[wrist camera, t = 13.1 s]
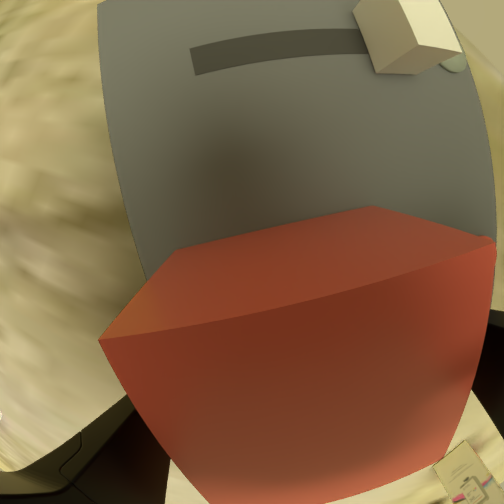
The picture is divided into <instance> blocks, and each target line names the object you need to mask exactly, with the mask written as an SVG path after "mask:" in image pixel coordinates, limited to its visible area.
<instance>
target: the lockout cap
mask: <svg viewBox="0 0 504 504" xmlns="http://www.w3.org/2000/svg"><path fill="white" fill-rule="evenodd" d="M494 265H495V242H493V241H491V240H488V239H485V238H482V237H479V236H476V235H473V234H470V233H467V232H464V231H461V230H458V229H455V228H452V227H448V226H445V225H442V224H439V223H435V222H432V221H428V220H425V219H422V218H418V217H414V216H411V215H407V214H404V213H400V212H396V211H392V210H389V209H385V208H381V207H377V206H373V205H372V206H367V207H363V208H358V209H353V210H348V211H344V212H339V213H334V214H330V215H325V216H321V217H316V218H311V219H307V220H302V221H298V222H293V223H289V224H284V225H280V226H276V227H271V228H267V229H262V230H258V231H254V232H249V233H245V234H241V235H236V236H232V237H228V238H224V239H219V240H215V241H211V242H207V243H203V244H198V245H194V246H190V247H186V248H182V249H178V250H175V251H174V252H173V253H172V254H171V255H170V257H169V258H168V259H167V260H166V261H165V262H164V263H163V264H162V265H161V266H160V268H159V269H158V270H157V271H156V272H155V273H154V274H153V275H152V277H151V278H150V279H149V280H148V281H147V282H146V283H145V284H144V286H143V287H142V288H141V289H140V290H139V291H138V293H137V294H136V295H135V296H134V297H133V298H132V299H131V301H130V302H129V303H128V304H127V305H126V306H125V308H124V309H123V310H122V311H121V312H120V314H119V315H118V316H117V317H116V318H115V320H114V321H113V322H112V323H111V324H110V326H109V327H108V328H107V329H106V330H105V332H104V333H103V334H102V335H101V337H100V338H99V339H98V341H99V343H100V345H101V347H102V349H103V351H104V353H105V355H106V357H107V359H108V361H109V363H110V365H111V367H112V368H113V370H114V372H115V374H116V376H117V378H118V379H119V381H120V383H121V385H122V386H123V388H124V390H125V392H126V393H127V395H128V397H129V398H130V400H131V401H132V403H133V405H134V406H135V408H136V410H137V411H138V413H139V414H140V416H141V417H142V419H143V420H144V422H145V423H146V425H147V426H148V428H149V429H150V431H151V432H152V434H153V435H154V436H155V438H156V439H157V441H158V442H159V443H160V445H161V446H162V447H163V449H164V450H165V451H166V453H167V454H168V455H169V457H170V458H171V459H172V461H173V462H174V463H175V464H176V466H177V467H178V468H179V469H180V471H181V472H182V473H183V474H184V475H185V477H186V478H187V479H188V480H189V481H190V482H191V484H192V485H193V486H194V487H195V488H196V489H197V490H198V491H199V493H200V494H201V495H202V496H203V497H204V498H205V499H206V500H207V501H208V502H209V503H210V504H324V503H329V502H332V501H336V500H340V499H344V498H347V497H350V496H354V495H357V494H360V493H363V492H366V491H369V490H372V489H375V488H378V487H380V486H383V485H386V484H388V483H391V482H393V481H396V480H398V479H401V478H403V477H405V476H408V475H410V474H412V473H414V472H416V471H419V470H421V469H423V468H425V467H427V466H429V465H431V464H433V463H435V462H437V461H439V460H440V459H442V458H443V457H444V455H445V453H446V451H447V449H448V447H449V444H450V442H451V440H452V438H453V436H454V433H455V431H456V429H457V426H458V424H459V421H460V419H461V416H462V414H463V411H464V408H465V405H466V403H467V400H468V397H469V394H470V391H471V388H472V385H473V381H474V378H475V375H476V371H477V367H478V364H479V360H480V356H481V352H482V347H483V343H484V338H485V333H486V328H487V323H488V317H489V311H490V304H491V297H492V288H493V278H494Z"/></svg>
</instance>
